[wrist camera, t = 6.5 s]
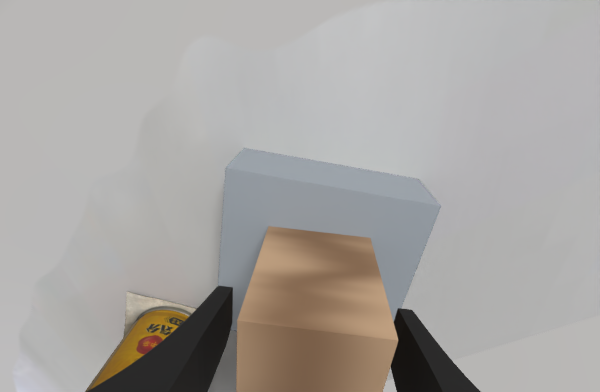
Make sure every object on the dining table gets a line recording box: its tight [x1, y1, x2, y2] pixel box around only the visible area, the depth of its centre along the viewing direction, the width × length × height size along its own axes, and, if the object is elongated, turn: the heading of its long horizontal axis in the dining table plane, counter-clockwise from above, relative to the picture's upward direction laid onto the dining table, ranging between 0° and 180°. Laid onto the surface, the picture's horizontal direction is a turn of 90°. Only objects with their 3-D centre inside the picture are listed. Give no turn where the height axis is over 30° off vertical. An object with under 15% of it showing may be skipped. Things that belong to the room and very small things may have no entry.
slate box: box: [218, 148, 441, 331], centre depth 18 cm, size 10×10×4 cm
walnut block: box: [236, 226, 398, 392], centre depth 13 cm, size 5×5×6 cm
